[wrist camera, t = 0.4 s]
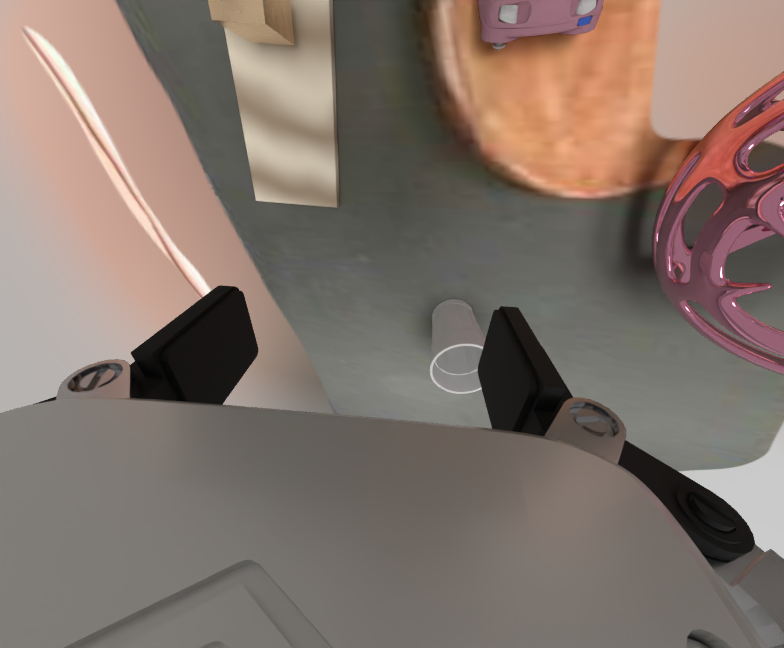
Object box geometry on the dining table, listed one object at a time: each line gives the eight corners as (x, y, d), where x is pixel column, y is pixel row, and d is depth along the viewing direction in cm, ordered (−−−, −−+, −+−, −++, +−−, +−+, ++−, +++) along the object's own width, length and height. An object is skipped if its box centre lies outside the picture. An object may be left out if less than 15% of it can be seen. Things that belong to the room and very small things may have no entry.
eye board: (170, -329, 19) (-29, -706, 10) (322, -321, 18) (245, -699, 10) (261, 198, 36) (216, 217, 28) (339, 205, 36) (317, 225, 28)
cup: (473, 339, 46) (489, 396, 36) (423, 336, 46) (426, 391, 36) (484, 296, 42) (506, 346, 32) (429, 292, 42) (434, 341, 32)
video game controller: (470, 33, 28) (480, 62, 25) (477, -42, 24) (490, -20, 21) (577, 18, 27) (603, 46, 24) (602, -62, 23) (638, -42, 20)
